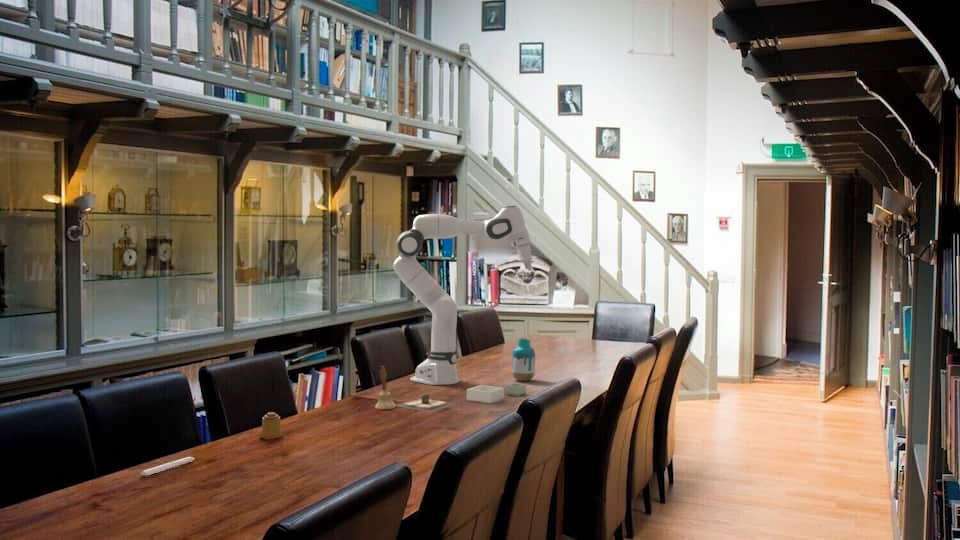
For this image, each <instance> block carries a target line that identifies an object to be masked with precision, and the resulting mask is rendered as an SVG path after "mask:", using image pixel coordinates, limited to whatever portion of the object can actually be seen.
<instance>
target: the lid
mask: <svg viewBox="0 0 960 540" xmlns="http://www.w3.org/2000/svg"><path fill="white" fill-rule="evenodd" d="M417 399H418V400H415V399H414V400H415V401H412V400H410V401H411V402H409V401H407V402H408V403H405V402H403V403H404V406H408V407H414V408H420V409H426V410H430V409H433V408H436V407H439V406H443V405H446V404H447V403H448V402H446V401H442V400H435V399H430V394H429V393H422V394H421V398H417Z"/></svg>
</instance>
